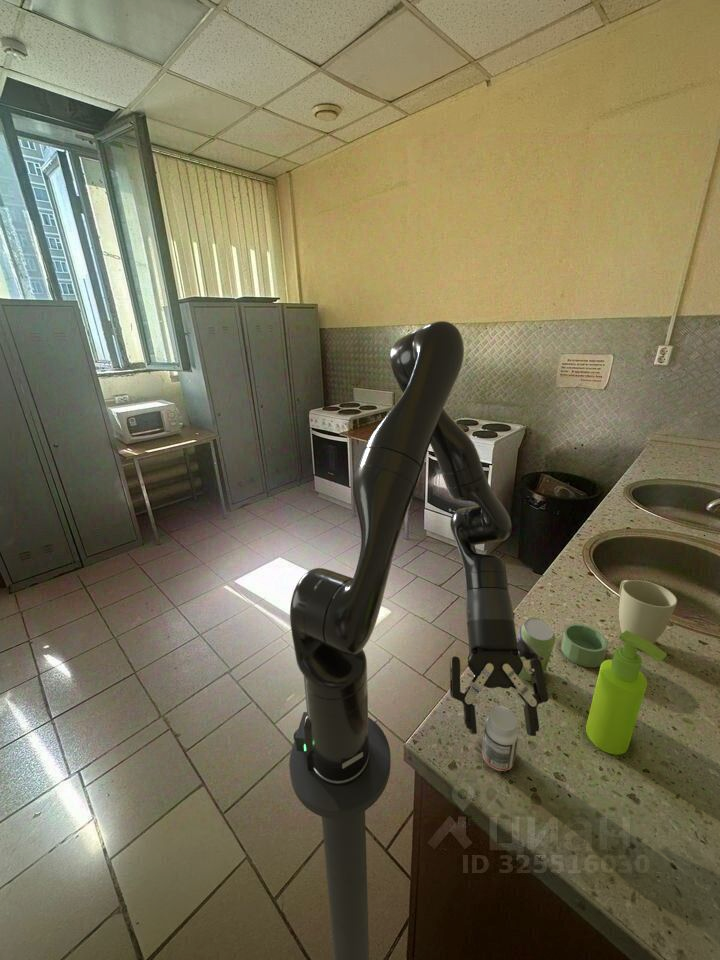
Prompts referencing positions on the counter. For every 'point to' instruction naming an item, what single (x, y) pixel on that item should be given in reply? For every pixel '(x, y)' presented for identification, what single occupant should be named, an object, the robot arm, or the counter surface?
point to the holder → (584, 645)
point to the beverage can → (535, 643)
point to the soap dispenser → (619, 695)
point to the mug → (645, 608)
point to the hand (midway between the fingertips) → (502, 734)
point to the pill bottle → (500, 738)
